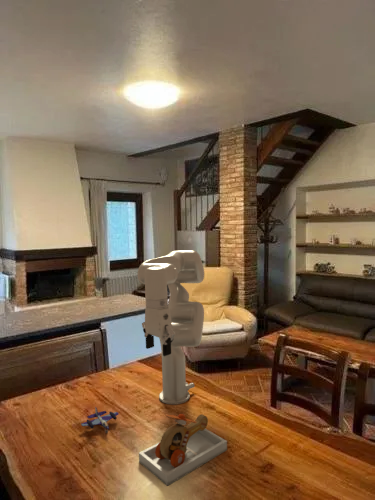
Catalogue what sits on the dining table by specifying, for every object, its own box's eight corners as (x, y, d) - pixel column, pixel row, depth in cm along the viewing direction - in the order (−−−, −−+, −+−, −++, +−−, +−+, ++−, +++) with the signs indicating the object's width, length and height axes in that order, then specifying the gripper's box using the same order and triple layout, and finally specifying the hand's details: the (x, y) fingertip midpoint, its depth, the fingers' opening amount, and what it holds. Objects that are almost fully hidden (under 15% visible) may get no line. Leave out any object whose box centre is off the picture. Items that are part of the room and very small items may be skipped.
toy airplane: (112, 440, 126) (112, 430, 126) (75, 435, 130) (75, 425, 129) (128, 420, 139) (128, 411, 138) (94, 416, 142) (94, 407, 142)
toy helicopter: (152, 462, 113) (151, 418, 112) (196, 431, 129) (195, 393, 128) (172, 473, 108) (170, 427, 107) (215, 440, 123) (215, 400, 122)
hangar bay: (197, 431, 130) (197, 423, 130) (227, 449, 120) (226, 440, 119) (139, 462, 115) (138, 452, 114) (167, 486, 104) (167, 475, 104)
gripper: (181, 305, 125) (182, 354, 127) (150, 297, 138) (152, 342, 140) (163, 309, 120) (165, 361, 122) (133, 300, 133) (135, 347, 135)
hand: (158, 351), depth 131 cm, fingers open, 9 cm apart
